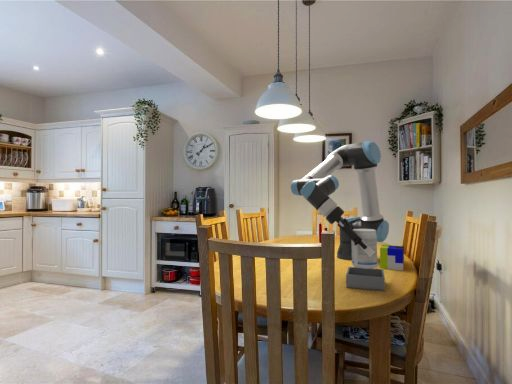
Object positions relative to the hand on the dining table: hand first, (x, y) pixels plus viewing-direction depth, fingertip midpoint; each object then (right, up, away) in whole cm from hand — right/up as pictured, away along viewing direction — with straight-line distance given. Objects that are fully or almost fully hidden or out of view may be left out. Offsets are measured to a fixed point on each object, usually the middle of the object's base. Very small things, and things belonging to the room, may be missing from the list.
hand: (372, 252), depth 119 cm
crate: (-2, -13, +1) cm, 13 cm away
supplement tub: (-3, -6, +1) cm, 7 cm away
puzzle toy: (+22, -14, +31) cm, 40 cm away
